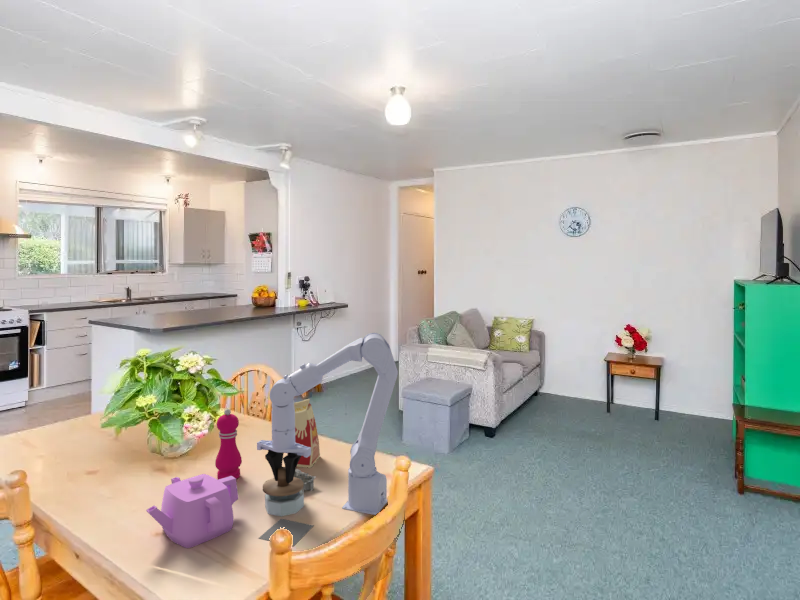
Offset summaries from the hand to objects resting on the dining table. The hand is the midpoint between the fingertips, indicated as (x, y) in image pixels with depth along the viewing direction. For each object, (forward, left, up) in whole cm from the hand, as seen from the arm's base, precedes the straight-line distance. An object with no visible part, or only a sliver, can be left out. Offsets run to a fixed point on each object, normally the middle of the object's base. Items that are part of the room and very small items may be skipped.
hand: (284, 480), depth 125 cm
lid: (0, 0, -2) cm, 2 cm away
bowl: (0, 0, -7) cm, 7 cm away
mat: (-7, +10, -7) cm, 14 cm away
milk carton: (+11, -27, -7) cm, 30 cm away
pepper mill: (+25, -10, -7) cm, 28 cm away
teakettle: (+14, +16, -8) cm, 23 cm away
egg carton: (+3, -11, -8) cm, 14 cm away
